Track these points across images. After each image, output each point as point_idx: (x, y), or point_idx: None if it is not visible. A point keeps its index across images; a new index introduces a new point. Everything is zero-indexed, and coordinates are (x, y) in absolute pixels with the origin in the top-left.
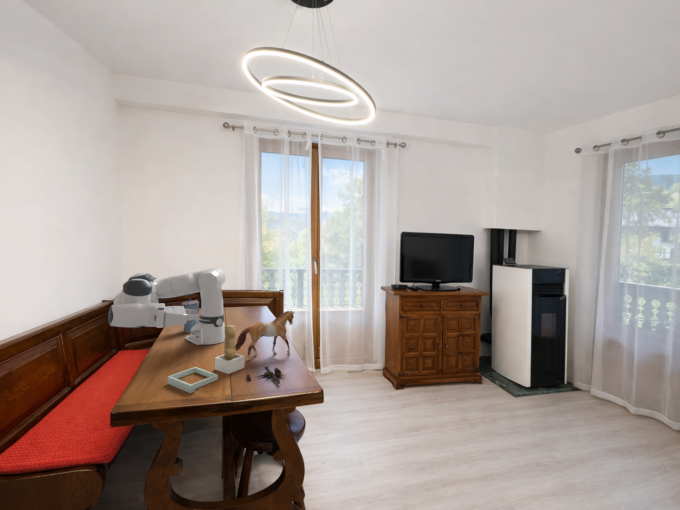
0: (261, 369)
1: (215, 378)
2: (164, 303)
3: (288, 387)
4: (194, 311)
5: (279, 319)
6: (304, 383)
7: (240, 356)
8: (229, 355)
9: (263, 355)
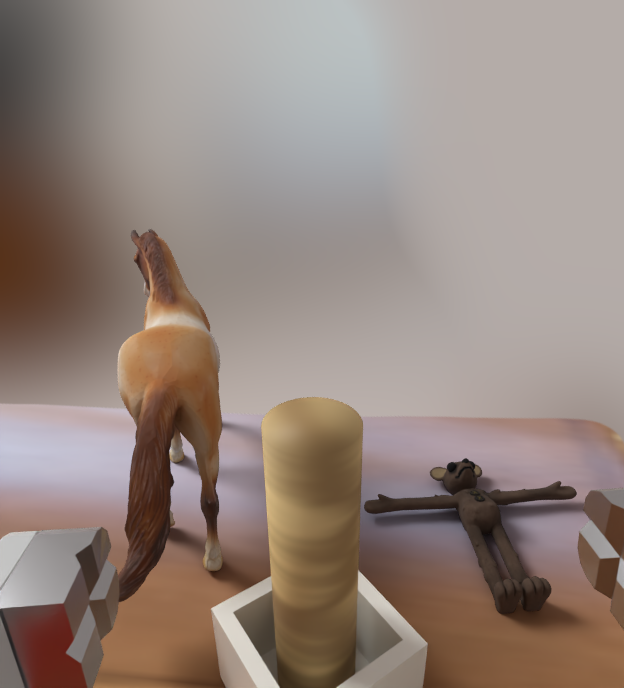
0: None
1: None
2: None
3: (582, 479)
4: (80, 578)
5: (177, 281)
6: (539, 435)
7: None
8: (356, 615)
9: None
